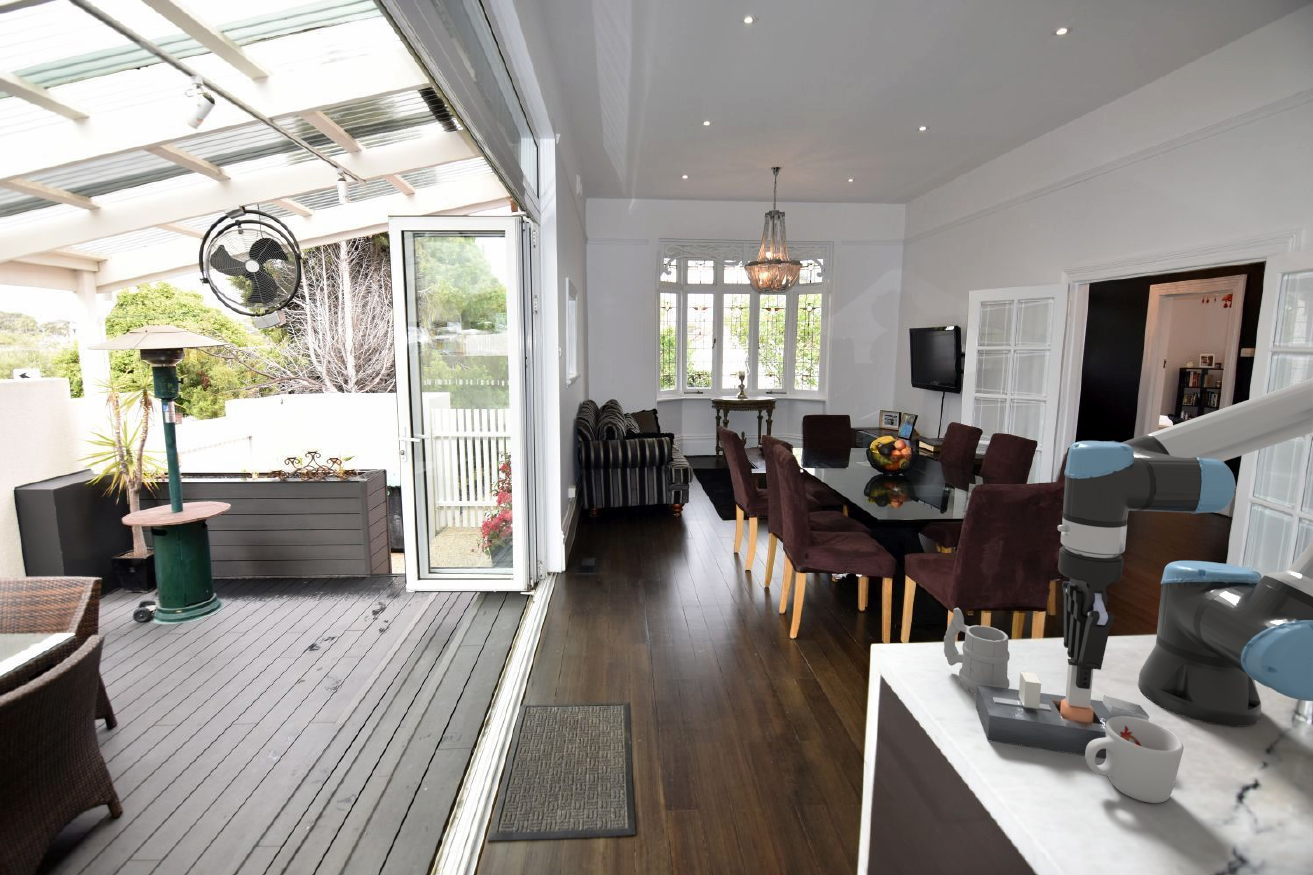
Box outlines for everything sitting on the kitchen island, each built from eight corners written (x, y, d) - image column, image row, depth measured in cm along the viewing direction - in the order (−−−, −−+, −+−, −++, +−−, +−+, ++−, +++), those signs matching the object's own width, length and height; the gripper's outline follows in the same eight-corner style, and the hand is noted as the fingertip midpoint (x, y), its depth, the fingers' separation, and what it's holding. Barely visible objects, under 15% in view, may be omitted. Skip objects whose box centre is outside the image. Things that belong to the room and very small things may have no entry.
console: (1128, 729, 94) (1131, 700, 93) (1156, 766, 86) (1160, 735, 85) (975, 707, 100) (977, 680, 100) (987, 740, 92) (989, 710, 91)
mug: (989, 704, 101) (994, 634, 99) (928, 671, 112) (932, 608, 110) (1019, 693, 104) (1024, 625, 103) (957, 662, 115) (961, 600, 113)
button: (1085, 730, 94) (1087, 700, 93) (1095, 746, 90) (1098, 715, 89) (1055, 725, 95) (1057, 696, 94) (1063, 741, 91) (1066, 710, 90)
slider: (1033, 697, 95) (1035, 673, 94) (1039, 708, 92) (1041, 683, 91) (1018, 696, 95) (1020, 671, 95) (1023, 706, 92) (1025, 681, 92)
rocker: (1137, 711, 91) (1139, 705, 91) (1147, 723, 88) (1149, 716, 88) (1102, 701, 92) (1104, 695, 92) (1110, 713, 89) (1112, 706, 89)
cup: (1104, 810, 78) (1110, 751, 77) (1065, 768, 85) (1070, 714, 84) (1194, 812, 77) (1200, 753, 76) (1146, 770, 85) (1152, 715, 84)
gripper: (1047, 535, 96) (1035, 678, 99) (1076, 561, 83) (1062, 724, 86) (1103, 538, 94) (1090, 685, 97) (1142, 567, 81) (1126, 733, 84)
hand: (1077, 703), depth 92 cm, fingers closed
